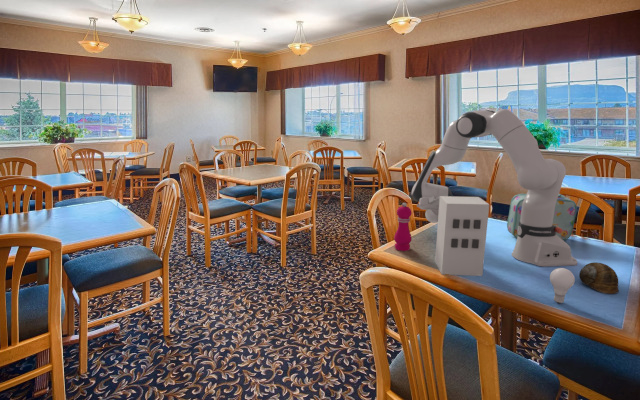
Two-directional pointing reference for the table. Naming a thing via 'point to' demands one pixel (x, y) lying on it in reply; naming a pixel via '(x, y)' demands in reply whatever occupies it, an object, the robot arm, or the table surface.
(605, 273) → the seashell
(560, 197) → the lunch box
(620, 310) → the table surface
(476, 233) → the cabinet
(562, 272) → the lightbulb
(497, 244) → the table surface
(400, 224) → the pepper mill
